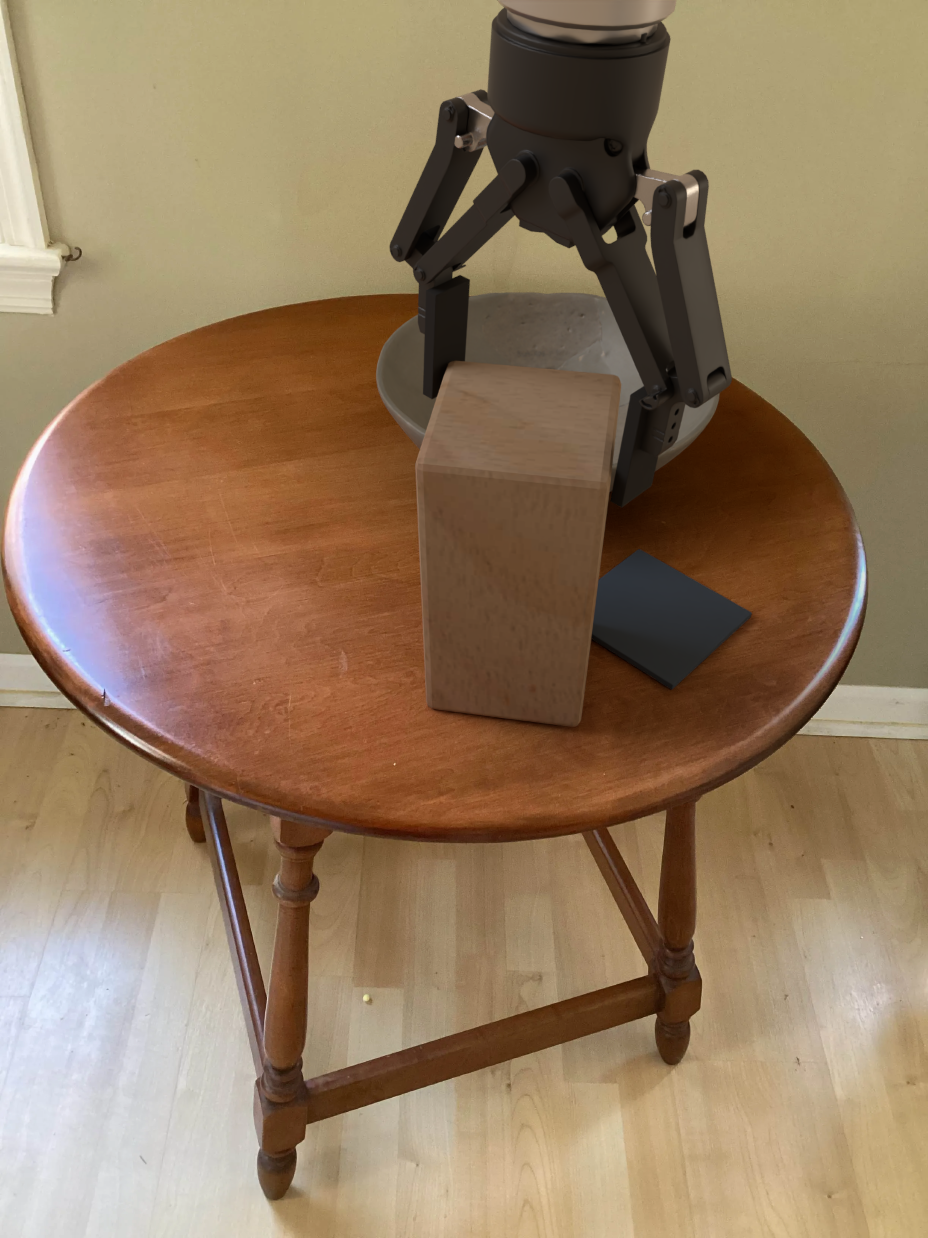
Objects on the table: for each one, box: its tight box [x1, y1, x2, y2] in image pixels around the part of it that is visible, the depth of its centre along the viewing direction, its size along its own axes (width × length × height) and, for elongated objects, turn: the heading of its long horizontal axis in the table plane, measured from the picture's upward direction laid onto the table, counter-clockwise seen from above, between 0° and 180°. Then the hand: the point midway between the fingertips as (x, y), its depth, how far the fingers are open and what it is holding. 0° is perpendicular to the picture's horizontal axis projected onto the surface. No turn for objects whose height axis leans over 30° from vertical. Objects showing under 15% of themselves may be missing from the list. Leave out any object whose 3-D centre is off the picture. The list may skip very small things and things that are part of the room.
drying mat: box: [591, 548, 753, 690], centre depth 74 cm, size 10×10×1 cm
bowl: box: [375, 291, 721, 493], centre depth 86 cm, size 27×28×8 cm
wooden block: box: [414, 361, 621, 728], centre depth 63 cm, size 10×10×20 cm
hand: (532, 439), depth 58 cm, fingers open, 13 cm apart
